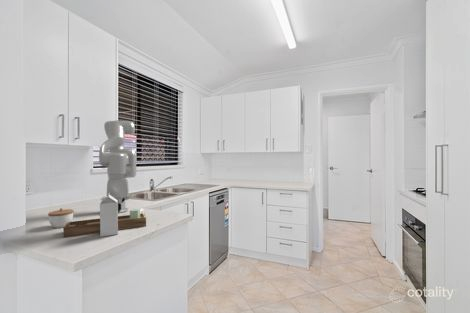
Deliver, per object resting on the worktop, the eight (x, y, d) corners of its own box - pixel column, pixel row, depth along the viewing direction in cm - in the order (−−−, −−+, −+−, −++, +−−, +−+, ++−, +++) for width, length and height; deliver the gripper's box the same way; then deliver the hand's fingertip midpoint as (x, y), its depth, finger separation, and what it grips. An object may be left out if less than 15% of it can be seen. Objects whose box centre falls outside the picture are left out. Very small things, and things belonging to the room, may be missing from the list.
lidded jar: (53, 224, 124) (53, 207, 124) (76, 222, 127) (76, 205, 127) (44, 230, 114) (44, 211, 114) (70, 227, 117) (69, 209, 117)
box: (68, 231, 112) (68, 222, 112) (144, 221, 127) (144, 213, 127) (63, 237, 103) (63, 227, 103) (146, 226, 118) (145, 217, 118)
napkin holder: (139, 216, 140) (139, 207, 140) (155, 217, 137) (155, 208, 137) (120, 223, 126) (120, 212, 126) (137, 225, 122) (137, 214, 122)
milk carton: (117, 230, 112) (117, 191, 112) (117, 234, 106) (117, 193, 106) (101, 232, 109) (100, 193, 109) (100, 237, 103) (99, 195, 103)
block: (132, 218, 123) (132, 208, 123) (140, 217, 123) (140, 208, 123) (129, 220, 119) (129, 210, 119) (137, 219, 119) (137, 210, 119)
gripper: (132, 175, 126) (133, 208, 127) (101, 176, 119) (102, 211, 120) (133, 176, 119) (133, 211, 120) (100, 178, 113) (101, 215, 113)
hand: (118, 211), depth 120 cm, fingers closed
